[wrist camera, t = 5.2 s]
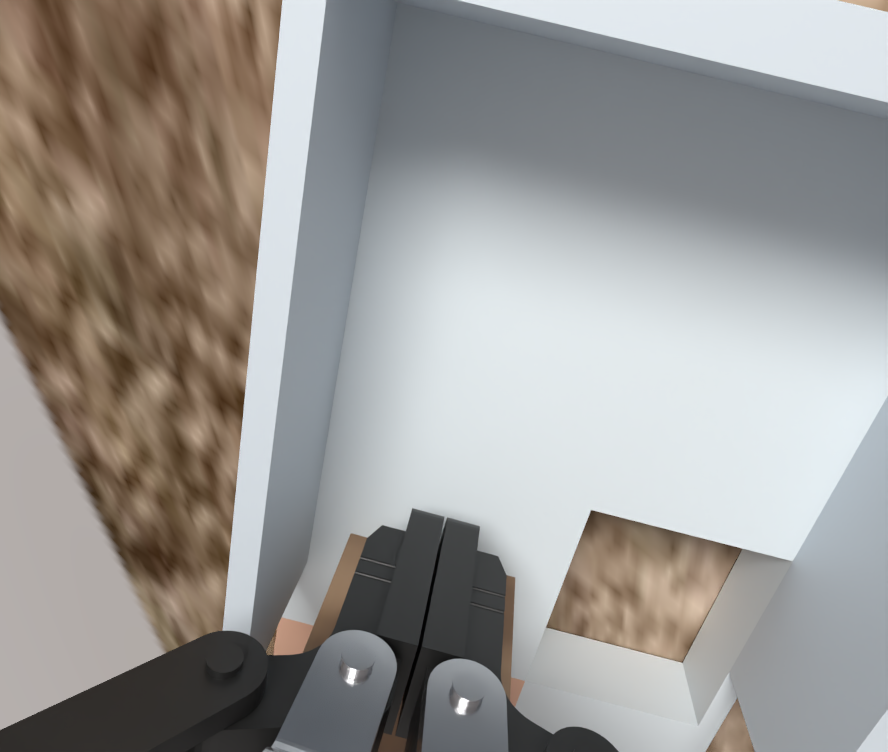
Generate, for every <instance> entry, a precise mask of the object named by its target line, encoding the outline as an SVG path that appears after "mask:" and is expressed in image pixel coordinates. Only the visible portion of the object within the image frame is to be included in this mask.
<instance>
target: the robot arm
mask: <svg viewBox="0 0 888 752" xmlns="http://www.w3.org/2000/svg"><path fill="white" fill-rule="evenodd" d="M443 523H444V516H440V515H436V514H433V513H429V512H425V511H421V510H418V509H414V508H412V511H411V515H410V518H409V522H408V525H407V529H406V531H403V530H399V529H395V528H392V527H388V526H384V525H382V526H381V527H379V528H378V529H377V530H376V531H375V532H374V533H372V534H371V535H370V536H369V537H368V538H367V540H366V542H365V545H364V548H363V551H362V553H361V556H360V559H359V562H358V564H357V567H356V570H355V573H354V575H353V578H352V581H351V584H350V586H349V589H348V592H347V595H346V597H345V600H344V603H343V606H342V608H341V611H340V614H339V617H338V619H337V622H336V625H335V628H334V630H333V632H332V634H331V635H330V636H329V638H328V639H327V640H326V641H325V642H324V643H322V644H321V645H320V646H318V647H316V648H314V649H312V650H310V651H307V652H305V653H300V654H294V655H267V654H266V651H265V649H264V648H263V646H262V645H261V644H260V643H259V642H258V641H257V640H256V639H255V638H253V637H251V636H249V635H247V634H245V633H242V632H237V631H217V632H213V633H210V634H207V635H204V636H202V637H200V638H198V639H196V640H193V641H191V642H189V643H187V644H185V645H183V646H181V647H178V648H176V649H174V650H172V651H170V652H168V653H165V654H163V655H161V656H159V657H157V658H155V659H153V660H150V661H148V662H146V663H144V664H142V665H140V666H137V667H136V668H133V669H131V670H129V671H127V672H125V673H122V674H120V675H118V676H116V677H114V678H112V679H110V680H107V681H105V682H103V683H101V684H99V685H97V686H95V687H92V688H90V689H88V690H86V691H84V692H81V693H79V694H77V695H75V696H73V697H71V698H69V699H66V700H64V701H62V702H60V703H58V704H56V705H53V706H51V707H49V708H47V709H45V710H43V711H41V712H38V713H36V714H34V715H32V716H30V717H28V718H26V719H23V720H21V721H19V722H17V723H15V724H13V725H11V726H8V727H6V728H4V729H2V730H0V752H378V749H379V746H380V742H381V739H382V735H383V733H386V734H389V735H392V732H393V728H394V725H395V721H396V718H397V715H398V711H399V708H400V705H401V701H402V698H403V701H402V706H401V710H400V715H399V720H398V724H397V729H396V734H395V736H397V737H401V738H405V739H407V741H406V746H405V751H404V752H619V751H618V750H617V749H616V748H615V747H614V746H613V745H612V744H611V743H610V742H609V741H608V740H607V739H606V738H604V737H603V736H601V735H600V734H598V733H596V732H594V731H592V730H589V729H587V728H583V727H574V726H572V727H566V728H563V729H560V730H558V731H557V732H555V733H554V734H552V733H550V732H548V731H547V730H545V729H543V728H542V727H540V726H539V725H537V724H535V723H534V722H532V721H530V720H529V719H528V718H526V717H525V716H524V715H522V714H521V713H520V712H519V711H518V710H517V709H516V708H515V707H514V706H513V704H512V703H511V702H510V700H509V699H508V697H507V695H506V693H505V691H504V688H503V686H502V681H501V662H502V646H503V629H504V611H505V595H506V579H507V575H506V573H505V571H504V568H503V566H502V564H501V561H500V559H499V557H498V556H496V555H492V554H488V553H485V552H481V551H477V547H478V539H479V531H480V526H478V525H474V524H470V523H467V522H463V521H459V520H455V519H452V518H448V517H447V519H446V522H445V526H444V529H443V532H442V527H443ZM441 532H442V536H441ZM440 537H441V539H440ZM439 542H440V543H439ZM404 691H405V692H404ZM403 695H404V697H403Z"/></svg>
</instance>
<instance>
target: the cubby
mask: <svg viewBox="0 0 888 752" xmlns="http://www.w3.org/2000/svg"><path fill="white" fill-rule="evenodd" d="M412 508H414V509H418V510H421V511H425V512H429V513H433V514H436V515H440V516H444V523H443V527H442V532H443V529H444V526H445V522H446V519H447V517H448V518H452V519H455V520H459V521H463V522H467V523H470V524H474V525H478V526H480V531H479V539H478V547H477V551H481V552H485V553H488V554H492V555H496V556H498V557H499V559H500V561H501V564H502V566H503V568H504V571H505V573H506V575H508V576H512V577H515V597H514V620H513V643H512V666H511V689H510V702H511V703H512V704H513V706H514V707H515V708H516V709H517V710H518V711H519V712H520V713H521V714H522V715H524V716H525V717H526V718H528V719H529V720H530V721H532V722H534V723H535V724H537V725H539V726H540V727H542V728H543V729H545V730H547V731H548V732H550V733H552V734H554V733H555V732H557V731H558V730H560V729H563V728H566V727H572V726H574V727H583V728H587V729H589V730H592V731H594V732H596V733H598V734H600V735H601V736H603V737H604V738H606V739H607V740H608V741H609V742H610V743H611V744H612V745H613V746H614V747H615V748H616V749H617V750H618V751H619V752H705V751H706V750H707V748H708V746H709V745H710V743H711V741H712V740H713V738H714V736H715V735H716V733H717V731H718V730H719V728H720V726H721V724H722V723H723V721H724V719H725V718H726V716H727V714H728V713H729V711H730V709H731V708H732V706H733V704H734V703H735V701H736V699H737V698H738V701H739V704H740V707H741V710H742V713H743V716H744V720H745V723H746V726H747V729H748V732H749V735H750V738H751V741H752V745H753V748H754V751H755V752H888V12H884V11H880V10H876V9H872V8H867V7H863V6H859V5H855V4H850V3H846V2H842V1H838V0H283V2H282V12H281V23H280V33H279V44H278V55H277V65H276V76H275V86H274V97H273V107H272V118H271V128H270V139H269V149H268V160H267V170H266V181H265V191H264V202H263V212H262V223H261V233H260V244H259V254H258V265H257V275H256V286H255V297H254V307H253V318H252V328H251V339H250V349H249V360H248V370H247V381H246V391H245V402H244V412H243V423H242V433H241V444H240V454H239V465H238V475H237V486H236V496H235V507H234V517H233V528H232V538H231V549H230V560H229V570H228V581H227V591H226V602H225V612H224V623H223V631H237V632H242V633H245V634H247V635H249V636H251V637H253V638H255V639H256V640H257V641H258V642H259V643H260V644H261V645H262V646H263V648H264V649H265V651H266V650H267V648H268V645H269V643H270V641H271V639H272V637H273V635H274V633H275V630H276V628H277V633H276V640H275V647H274V654H273V655H294V654H300V653H303V651H304V648H305V646H306V643H307V641H308V638H309V636H310V633H311V631H312V628H313V626H314V623H315V621H316V618H317V616H318V613H319V611H320V608H321V606H322V603H323V601H324V598H325V596H326V594H327V591H328V589H329V586H330V584H331V581H332V579H333V576H334V574H335V571H336V569H337V566H338V564H339V561H340V559H341V556H342V554H343V551H344V549H345V546H346V544H347V541H348V539H349V536H350V534H351V533H352V534H356V535H360V536H363V537H367V538H368V537H369V536H370V535H371V534H372V533H374V532H375V531H376V530H377V529H378V528H379V527H381V526H382V525H384V526H388V527H392V528H395V529H399V530H403V531H406V529H407V525H408V522H409V518H410V515H411V511H412ZM591 510H593V511H597V512H601V513H605V514H609V515H613V516H617V517H621V518H625V519H629V520H633V521H636V522H640V523H644V524H648V525H652V526H656V527H660V528H664V529H668V530H672V531H676V532H680V533H684V534H687V535H691V536H695V537H699V538H703V539H707V540H711V541H715V542H719V543H723V544H727V545H731V546H735V547H738V548H742V551H741V553H740V555H739V557H738V558H737V560H736V562H735V564H734V566H733V568H732V570H731V572H730V574H729V576H728V577H727V579H726V581H725V583H724V585H723V587H722V589H721V591H720V593H719V595H718V596H717V598H716V600H715V602H714V604H713V606H712V608H711V610H710V612H709V614H708V616H707V617H706V619H705V621H704V623H703V625H702V627H701V629H700V631H699V633H698V635H697V636H696V638H695V640H694V642H693V644H692V646H691V648H690V650H689V652H688V654H687V655H686V657H685V659H684V661H683V663H681V662H677V661H673V660H669V659H665V658H662V657H658V656H654V655H650V654H646V653H642V652H639V651H635V650H631V649H627V648H623V647H619V646H615V645H612V644H608V643H604V642H600V641H596V640H592V639H588V638H585V637H581V636H577V635H573V634H569V633H565V632H561V631H558V630H554V629H550V628H546V625H547V623H548V620H549V618H550V615H551V612H552V610H553V607H554V605H555V602H556V600H557V597H558V594H559V592H560V589H561V587H562V584H563V581H564V579H565V576H566V574H567V571H568V568H569V566H570V563H571V561H572V558H573V555H574V553H575V550H576V548H577V545H578V542H579V540H580V537H581V535H582V532H583V530H584V527H585V524H586V522H587V519H588V517H589V514H590V511H591ZM442 532H441V536H442ZM440 539H441V537H440ZM439 543H440V542H439Z"/></svg>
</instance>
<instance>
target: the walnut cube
mask: <svg viewBox="0 0 888 752" xmlns="http://www.w3.org/2000/svg"><path fill="white" fill-rule="evenodd" d="M366 540H367V537H363V536H360V535H356V534H352V533H351V534H350V536H349V539H348V541H347V544H346V546H345V549H344V551H343V554H342V556H341V559H340V561H339V564H338V566H337V569H336V571H335V574H334V576H333V579H332V581H331V584H330V586H329V589H328V591H327V594H326V596H325V598H324V601H323V603H322V606H321V608H320V611H319V613H318V616H317V618H316V621H315V623H314V626H313V628H312V631H311V633H310V636H309V638H308V641H307V643H306V646H305V648H304V651H303V653H305V652H307V651H310V650H312V649H314V648H316V647H318V646H320V645H321V644H322V643H324V642H325V641H326V640H327V639H328V638H329V636H330V635H331V634H332V632H333V630H334V628H335V625H336V622H337V619H338V617H339V614H340V611H341V608H342V606H343V603H344V600H345V597H346V595H347V592H348V589H349V586H350V584H351V581H352V578H353V575H354V573H355V570H356V567H357V564H358V562H359V559H360V556H361V553H362V551H363V548H364V545H365V542H366ZM514 597H515V577H512V576H508V575H507V579H506V595H505V611H504V629H503V646H502V662H501V681H502V686H503V688H504V691H505V693H506V695H507V697H508V699H509V700H510V689H511V666H512V643H513V620H514ZM404 692H405V691H404ZM403 697H404V695H403ZM402 701H403V698H402ZM402 701H401V705H400V708H399V711H398V715H397V718H396V721H395V725H394V728H393V732H392V735H389V734H386V733H383V735H382V739H381V742H380V746H379V749H378V752H404V751H405V746H406V741H407V739H405V738H401V737H397V736H395V734H396V729H397V724H398V720H399V715H400V710H401V706H402Z"/></svg>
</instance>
